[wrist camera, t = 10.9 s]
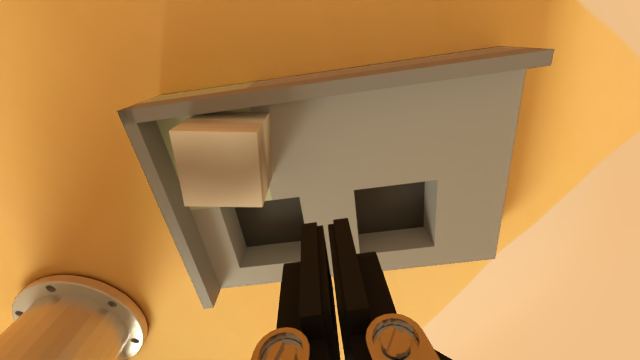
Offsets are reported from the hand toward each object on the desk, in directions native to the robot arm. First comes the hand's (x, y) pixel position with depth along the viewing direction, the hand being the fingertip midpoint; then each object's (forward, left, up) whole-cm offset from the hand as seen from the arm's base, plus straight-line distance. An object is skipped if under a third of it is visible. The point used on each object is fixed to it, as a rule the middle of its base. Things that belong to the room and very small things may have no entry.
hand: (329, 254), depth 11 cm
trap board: (-3, -1, -13) cm, 14 cm away
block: (+1, +6, -10) cm, 12 cm away
